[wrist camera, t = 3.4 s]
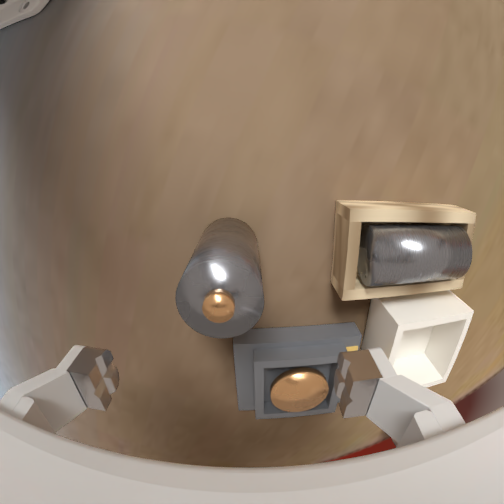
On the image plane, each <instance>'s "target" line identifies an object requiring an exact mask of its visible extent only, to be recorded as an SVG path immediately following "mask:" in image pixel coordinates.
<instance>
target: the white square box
mask: <svg viewBox="0 0 504 504" xmlns="http://www.w3.org/2000/svg"><path fill="white" fill-rule="evenodd" d="M473 312H474V311H473V310H472V309H471V308H470V307H469V306H467V305H466V304H465V303H464V302H463V301H462V300H461V299H459V298H458V297H457V296H456V295H455V294H453V293H452V292H451V291H450V290H445V291H437V292H429V293H420V294H412V295H402V296H393V297H383V298H372V299H371V302H370V308H369V313H368V318H367V323H366V328H365V333H364V338H363V342H362V347H361V350H364V349H369V348H375V347H380V348H382V350H383V352H384V353H385V355H386V357H387V358H388V360H389V362H390V363H391V365H392V367H393V368H394V370H395V372H396V374H397V375H403V376H405V377H406V378H408V379H410V380H412V381H414V382H416V383H418V384H420V385H422V386H423V387H425V388H426V387H430V386H433V385H437V384H440V383H443V382H446V380H447V377H448V375H449V373H450V371H451V369H452V367H453V364H454V362H455V360H456V358H457V355H458V353H459V350H460V348H461V345H462V343H463V340H464V338H465V335H466V332H467V330H468V327H469V324H470V321H471V318H472V315H473Z"/></svg>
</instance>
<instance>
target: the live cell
mask: <svg viewBox="0 0 504 504" xmlns="http://www.w3.org/2000/svg"><path fill="white" fill-rule="evenodd" d="M471 260H472V245H471V241H470V238H469V236H468V234H467V232H466V231H465V230H464V229H463V228H462V227H460V226H457V225H364V226H363V227H362V228H361V234H360V246H359V256H358V265H357V268H358V273H359V276H360V278H361V281H362V282H363V284H364V285H366V286H382V285H394V284H405V283H416V282H427V281H437V280H446V279H455V278H461V277H463V276H464V275H465V274H466V273H467V271H468V269H469V267H470V264H471Z"/></svg>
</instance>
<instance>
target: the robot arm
mask: <svg viewBox="0 0 504 504" xmlns="http://www.w3.org/2000/svg"><path fill="white" fill-rule="evenodd" d="M48 2H49V0H0V29H2V28H4V27H6V26H8V25H11V24H13V23H16V22H18V21H21V20H23V19H26V18H28V17H31V16H34V15H36V14H37V13H39V12H40V11H41V10H42V9H43V8H44V7H45V6H46V4H47V3H48ZM112 360H113V356H112V354H111V351H109V350H107V349H100V348H94V347H88V346H81V345H75V346H73V347H72V348H71V350H70V351H69V352H68V353H67V355H66V356H65V357H64V358H63V360H62V361H61V362H60V364H59V365H58V366H57V367H56V369H54V368H52V369H50V370H48V371H46V372H44V373H42V374H39V375H37V376H35V377H33V378H31V379H29V380H27V381H25V382H23V383H20V384H18V385H16V386H14V387H12V388H10V389H9V390H8V391H7V392H6V394H5V395H4V396H3V397H2V399H1V400H0V504H504V406H503V407H501V408H499V409H497V410H495V411H493V412H491V413H489V414H487V415H485V416H483V417H480V418H478V419H476V420H474V421H472V422H469V423H467V424H466V423H465V422H464V420H463V418H462V417H461V415H460V414H459V412H458V410H457V409H456V407H455V406H454V404H453V403H452V401H450V400H448V399H447V398H445V397H443V396H441V395H439V394H437V393H435V392H433V391H431V390H429V389H427V388H425V387H423V386H422V385H420V384H418V383H416V382H414V381H412V380H410V379H408V378H406V377H405V376H403V375H397V374H396V372H395V370H394V368H393V367H392V365H391V363H390V362H389V360H388V358H387V357H386V355H385V353H384V352H383V350H382V348H380V347H375V348H369V349H364V350H356V351H347V352H339V355H338V358H337V363H338V366H339V367H338V368H337V369H336V370H335V374H334V389H335V393H336V396H338V397H339V398H340V402H339V406H340V410H341V413H342V416H343V418H350V417H357V416H364V415H366V417H368V418H369V419H370V420H371V421H372V422H374V423H375V424H376V425H377V426H378V427H379V428H381V429H382V430H383V431H384V432H385V433H387V434H388V435H389V436H390V437H391V438H393V439H394V440H395V441H396V442H397V443H398V445H397V447H396V448H395V449H391V450H387V451H383V452H378V453H375V454H370V455H365V456H360V457H355V458H350V459H343V460H337V461H331V462H323V463H315V464H306V465H295V466H281V467H249V468H245V467H213V466H199V465H189V464H180V463H172V462H165V461H158V460H152V459H146V458H141V457H136V456H131V455H126V454H122V453H117V452H113V451H109V450H105V449H101V448H98V447H94V446H91V445H87V444H84V443H81V442H77V441H74V440H71V439H68V438H65V437H63V436H60V435H57V434H56V432H57V431H58V430H60V429H61V428H62V427H64V426H65V425H66V424H68V423H69V422H70V421H71V420H73V419H74V418H75V417H77V416H78V415H79V414H81V413H82V412H83V411H85V410H86V409H87V407H88V408H92V409H97V410H103V411H106V410H107V408H108V405H109V403H110V401H111V399H112V398H111V395H110V394H111V393H113V392H115V391H116V389H117V387H118V384H119V373H118V370H117V368H116V367H115V366H114V365H113V364H112Z"/></svg>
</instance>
